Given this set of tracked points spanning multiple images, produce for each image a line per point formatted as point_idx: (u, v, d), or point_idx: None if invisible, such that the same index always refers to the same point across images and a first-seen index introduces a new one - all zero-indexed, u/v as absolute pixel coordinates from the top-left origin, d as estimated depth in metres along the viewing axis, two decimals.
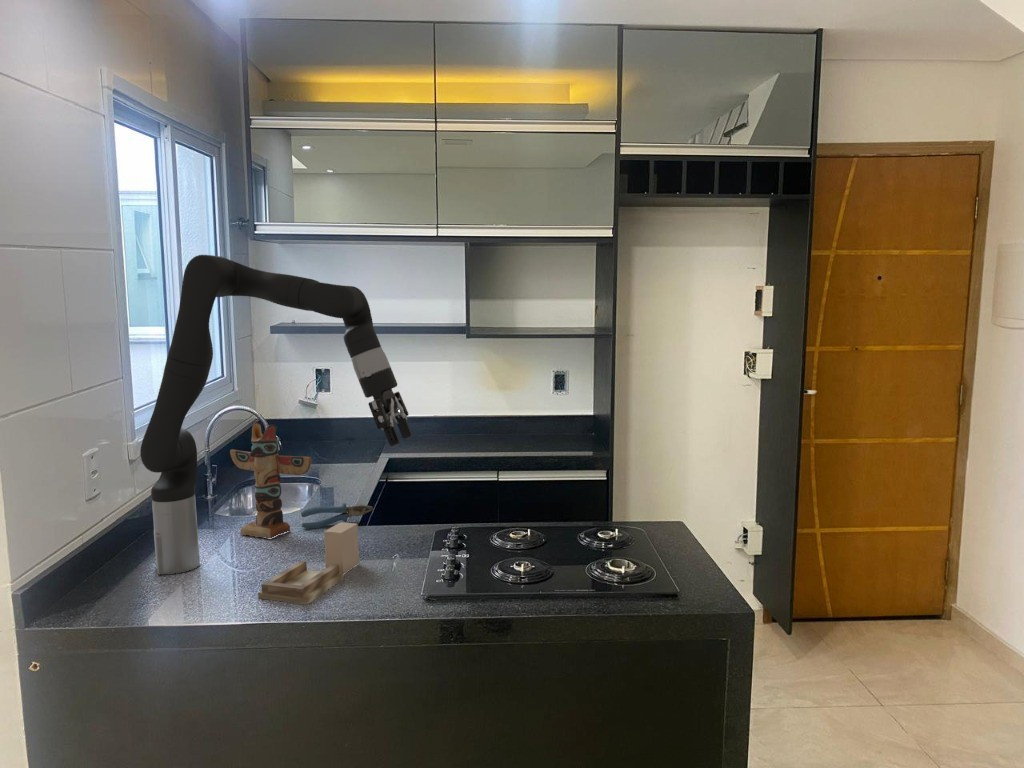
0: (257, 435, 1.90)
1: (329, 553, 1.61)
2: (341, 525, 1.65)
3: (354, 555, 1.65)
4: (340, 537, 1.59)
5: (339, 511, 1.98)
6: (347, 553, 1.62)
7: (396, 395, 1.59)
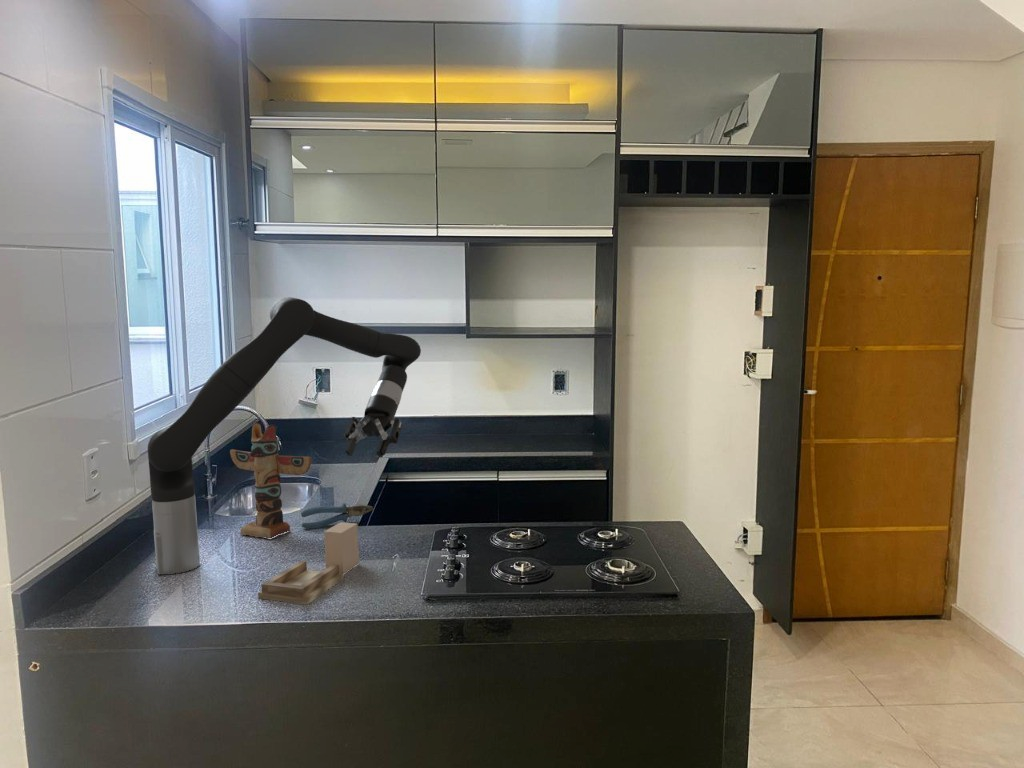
0: (257, 435, 1.90)
1: (329, 553, 1.61)
2: (341, 525, 1.65)
3: (354, 555, 1.65)
4: (340, 537, 1.59)
5: (339, 511, 1.98)
6: (347, 553, 1.62)
7: None
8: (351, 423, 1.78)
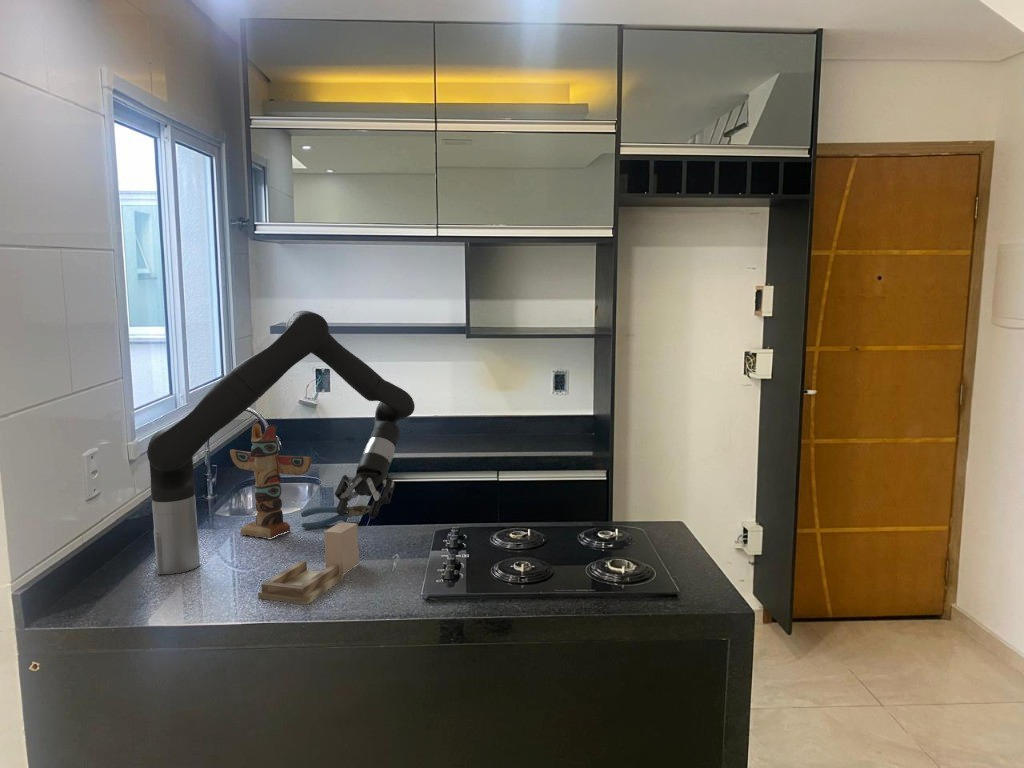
0: (257, 435, 1.90)
1: (329, 553, 1.61)
2: (341, 525, 1.65)
3: (354, 555, 1.65)
4: (340, 537, 1.59)
5: None
6: (347, 553, 1.62)
7: None
8: (343, 482, 1.75)
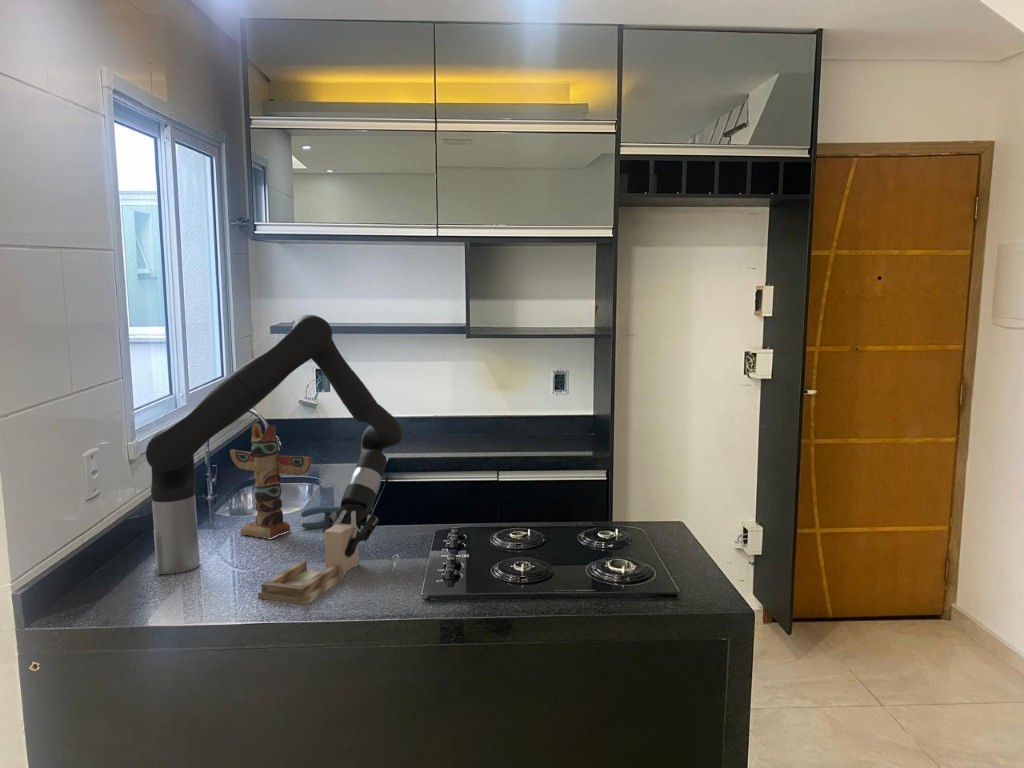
0: (257, 435, 1.90)
1: (329, 553, 1.61)
2: (341, 525, 1.65)
3: (354, 555, 1.65)
4: (340, 537, 1.59)
5: None
6: None
7: None
8: (327, 518, 1.68)
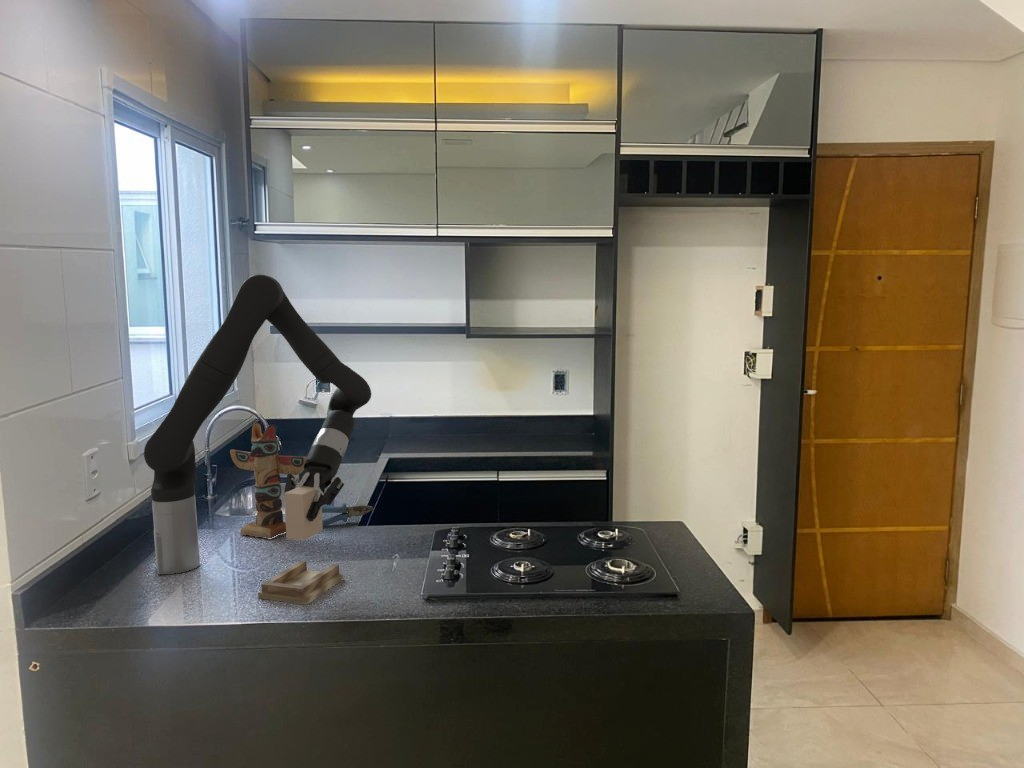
0: (257, 435, 1.90)
1: (289, 516, 1.50)
2: (303, 487, 1.54)
3: (317, 519, 1.54)
4: (301, 499, 1.49)
5: (339, 511, 1.97)
6: None
7: None
8: (289, 481, 1.57)
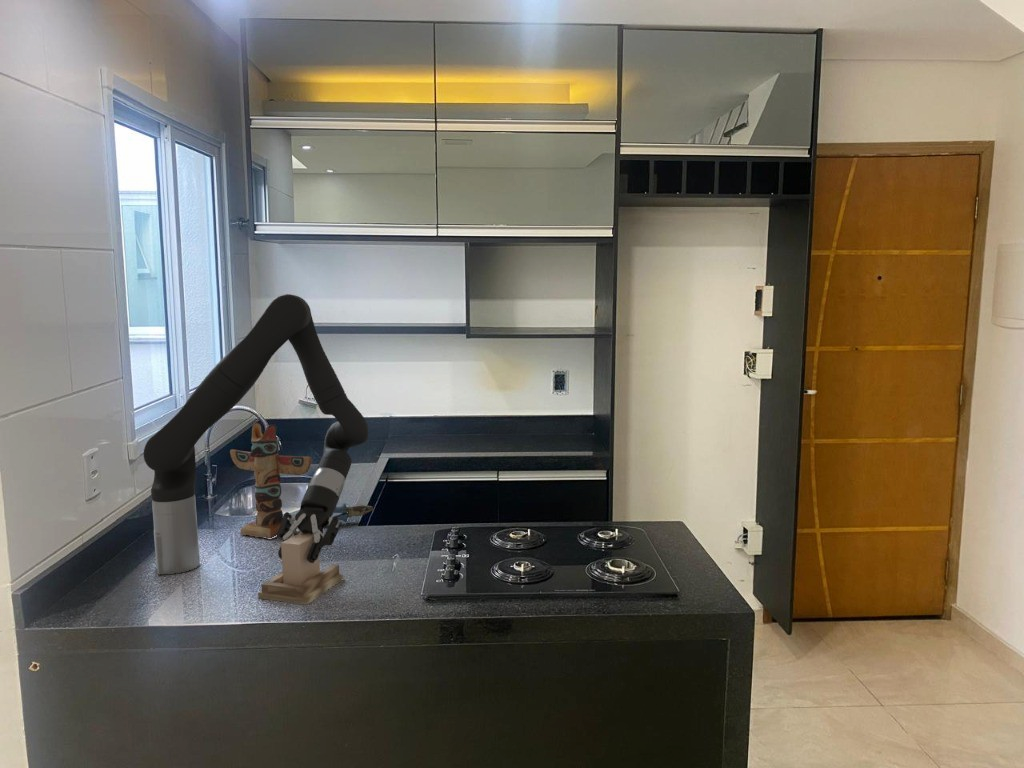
0: (257, 435, 1.90)
1: (286, 566, 1.50)
2: (300, 536, 1.54)
3: (314, 568, 1.54)
4: (298, 550, 1.48)
5: (339, 511, 1.97)
6: (306, 566, 1.51)
7: None
8: (285, 520, 1.57)
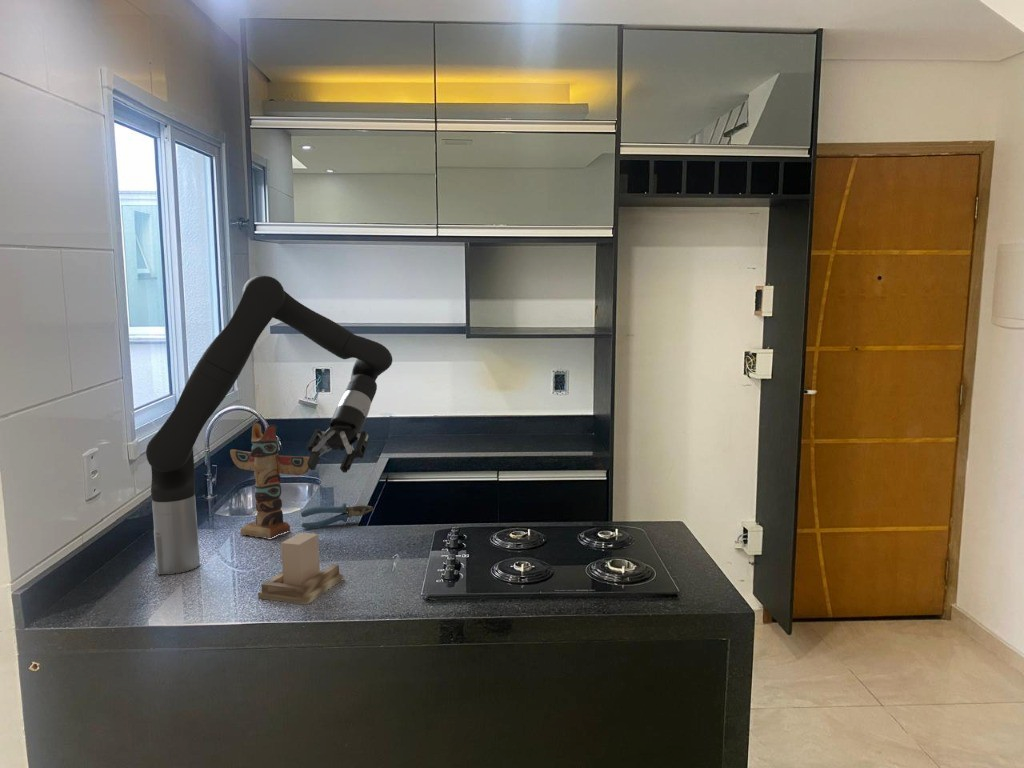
0: (257, 435, 1.90)
1: (286, 566, 1.50)
2: (300, 536, 1.54)
3: (314, 568, 1.54)
4: (298, 550, 1.48)
5: (339, 511, 1.97)
6: (306, 566, 1.51)
7: None
8: (315, 435, 1.68)
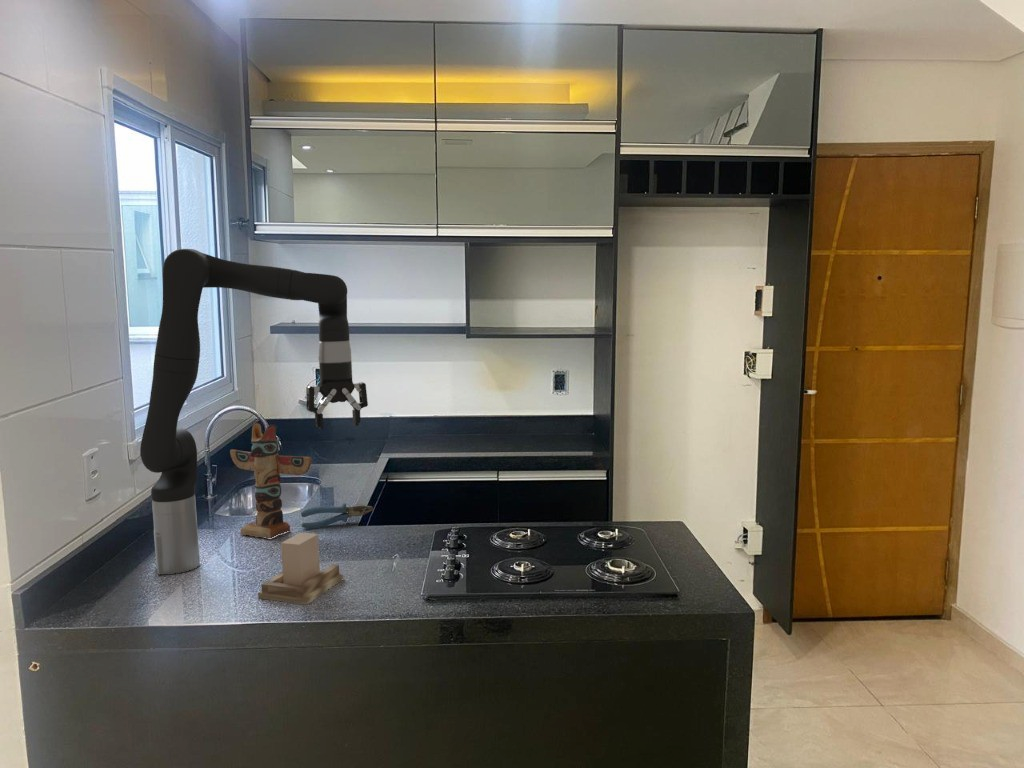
0: (257, 435, 1.90)
1: (286, 566, 1.50)
2: (300, 536, 1.54)
3: (314, 568, 1.54)
4: (298, 550, 1.48)
5: (339, 511, 1.97)
6: (306, 566, 1.51)
7: None
8: (312, 395, 1.65)
